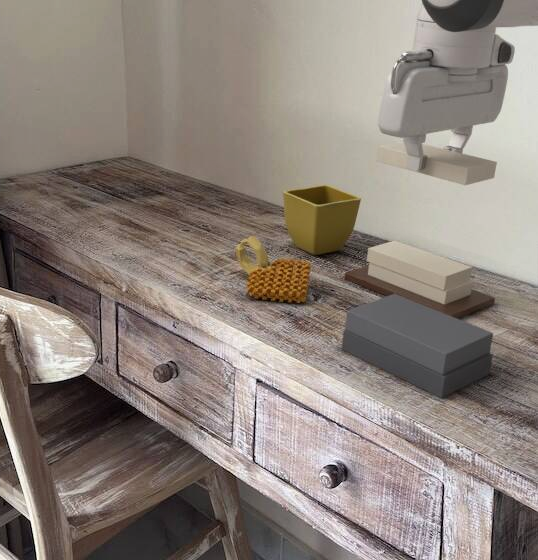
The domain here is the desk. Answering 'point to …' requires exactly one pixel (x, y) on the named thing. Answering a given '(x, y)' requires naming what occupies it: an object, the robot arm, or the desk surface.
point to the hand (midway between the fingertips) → (434, 165)
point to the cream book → (441, 163)
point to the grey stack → (418, 344)
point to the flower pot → (320, 217)
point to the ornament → (273, 274)
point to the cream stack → (420, 279)
